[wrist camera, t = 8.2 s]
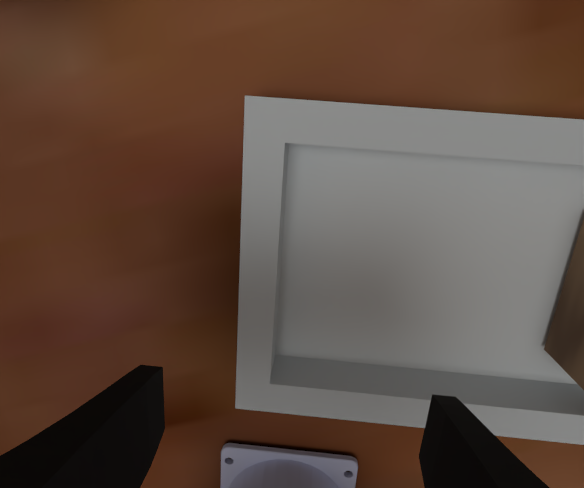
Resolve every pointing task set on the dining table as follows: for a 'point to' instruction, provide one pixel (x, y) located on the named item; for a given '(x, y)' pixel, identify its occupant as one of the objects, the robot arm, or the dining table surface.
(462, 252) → the bay
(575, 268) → the cardboard box
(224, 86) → the dining table surface
